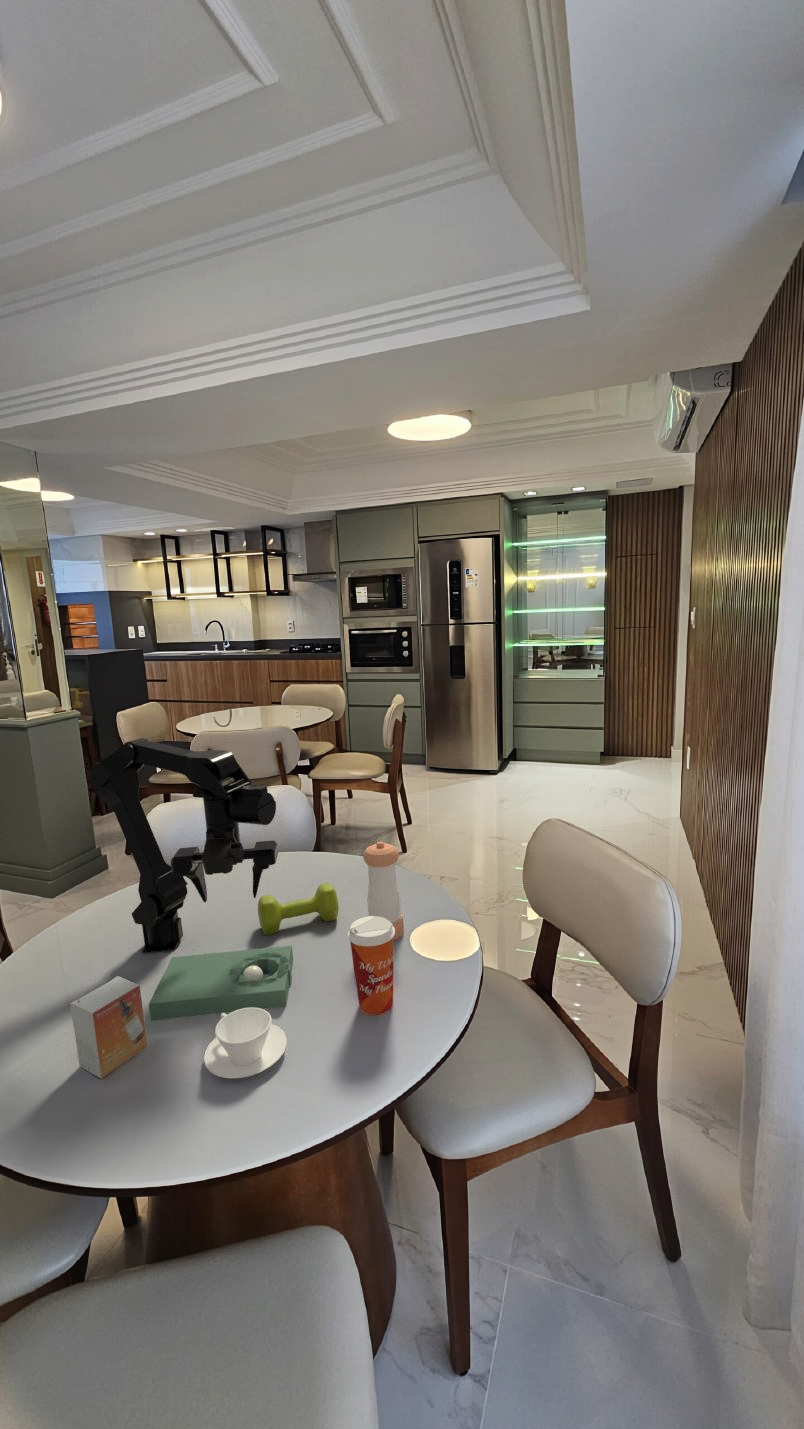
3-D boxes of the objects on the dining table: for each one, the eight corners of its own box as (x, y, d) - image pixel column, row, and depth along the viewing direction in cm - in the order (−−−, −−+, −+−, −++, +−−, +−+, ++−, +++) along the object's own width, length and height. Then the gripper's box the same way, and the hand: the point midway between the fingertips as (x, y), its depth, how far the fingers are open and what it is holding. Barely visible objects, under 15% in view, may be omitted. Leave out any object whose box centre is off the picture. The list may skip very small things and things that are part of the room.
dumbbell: (263, 942, 126) (259, 908, 125) (258, 924, 134) (254, 892, 133) (342, 924, 132) (339, 891, 131) (333, 908, 139) (330, 877, 138)
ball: (265, 986, 110) (246, 995, 110) (267, 974, 113) (249, 983, 113) (255, 969, 109) (236, 978, 109) (258, 958, 112) (240, 966, 112)
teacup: (246, 1021, 102) (242, 991, 101) (304, 1043, 96) (301, 1012, 95) (187, 1069, 92) (183, 1037, 91) (248, 1098, 86) (244, 1063, 85)
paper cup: (364, 1025, 99) (358, 943, 97) (345, 1000, 106) (339, 922, 103) (408, 1008, 103) (403, 929, 100) (387, 985, 109) (382, 910, 107)
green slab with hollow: (151, 1020, 103) (148, 1003, 103) (173, 972, 117) (172, 957, 117) (287, 1006, 105) (286, 989, 105) (294, 960, 119) (293, 945, 118)
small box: (101, 1080, 90) (90, 1014, 89) (78, 1067, 93) (68, 1003, 92) (149, 1046, 97) (140, 984, 95) (126, 1035, 100) (118, 974, 98)
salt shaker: (395, 944, 122) (390, 851, 119) (361, 939, 125) (355, 847, 122) (409, 926, 129) (404, 837, 126) (376, 921, 132) (371, 834, 128)
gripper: (157, 840, 108) (167, 925, 110) (267, 831, 109) (275, 915, 112) (174, 818, 118) (184, 896, 121) (274, 810, 120) (281, 887, 123)
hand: (230, 899), depth 119 cm, fingers open, 9 cm apart
